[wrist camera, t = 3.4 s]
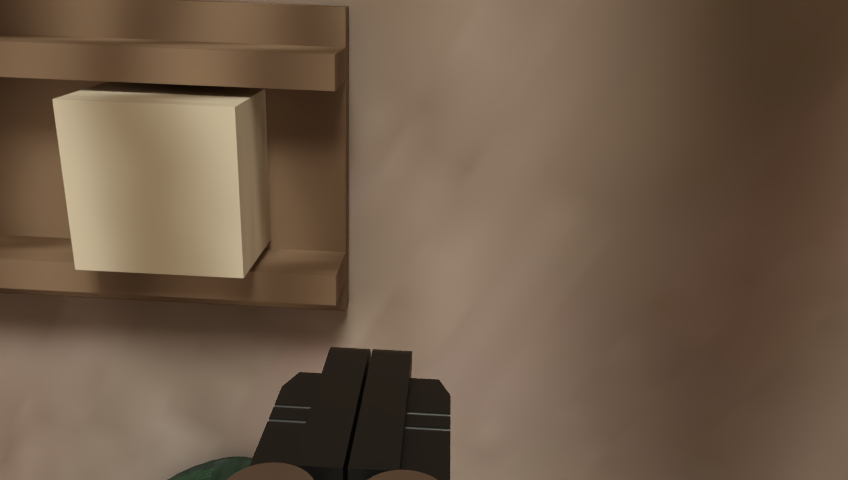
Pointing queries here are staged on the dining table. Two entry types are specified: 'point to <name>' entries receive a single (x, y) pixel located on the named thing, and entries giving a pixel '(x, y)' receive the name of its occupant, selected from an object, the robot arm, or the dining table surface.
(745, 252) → the dining table surface
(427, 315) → the dining table surface
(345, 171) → the chute
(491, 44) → the dining table surface
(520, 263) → the dining table surface
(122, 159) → the birch block
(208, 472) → the coffee jar
